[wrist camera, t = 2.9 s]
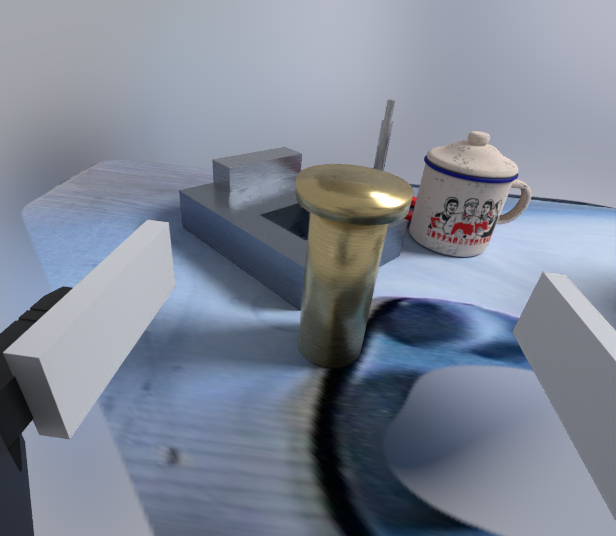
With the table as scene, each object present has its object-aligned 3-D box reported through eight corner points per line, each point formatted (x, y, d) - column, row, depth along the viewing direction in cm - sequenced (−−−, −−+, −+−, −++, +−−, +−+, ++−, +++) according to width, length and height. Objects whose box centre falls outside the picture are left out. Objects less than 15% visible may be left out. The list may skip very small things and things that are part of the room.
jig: (399, 255, 39) (414, 195, 35) (300, 310, 30) (307, 238, 27) (281, 198, 49) (284, 147, 46) (182, 226, 40) (176, 165, 37)
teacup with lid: (417, 256, 39) (449, 141, 33) (398, 218, 47) (422, 119, 41) (530, 264, 40) (582, 152, 34) (493, 225, 48) (530, 128, 41)
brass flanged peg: (391, 347, 27) (435, 189, 21) (332, 395, 23) (364, 217, 17) (327, 304, 31) (347, 158, 25) (266, 339, 27) (271, 175, 21)
